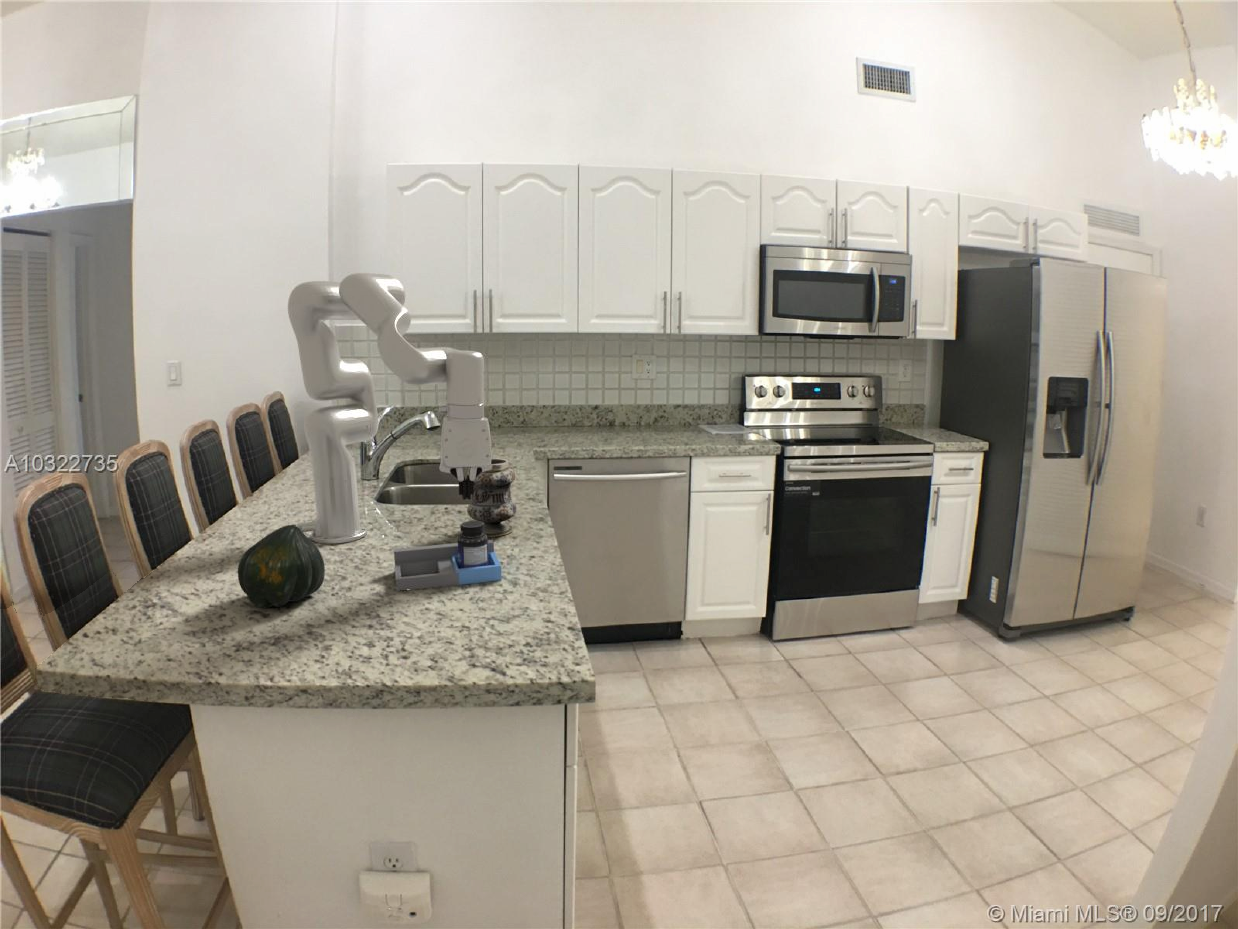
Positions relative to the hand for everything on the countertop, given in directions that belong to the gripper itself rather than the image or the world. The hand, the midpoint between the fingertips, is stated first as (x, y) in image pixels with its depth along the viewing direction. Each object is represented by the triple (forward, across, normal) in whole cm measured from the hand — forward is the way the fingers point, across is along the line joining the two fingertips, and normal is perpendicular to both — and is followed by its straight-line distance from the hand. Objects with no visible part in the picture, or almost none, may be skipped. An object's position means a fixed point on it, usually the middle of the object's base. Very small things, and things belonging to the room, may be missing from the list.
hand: (466, 497), depth 149 cm
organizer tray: (+15, -4, -6) cm, 17 cm away
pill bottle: (+15, +1, -6) cm, 16 cm away
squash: (+16, -35, -9) cm, 39 cm away
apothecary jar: (+16, +9, +23) cm, 29 cm away
